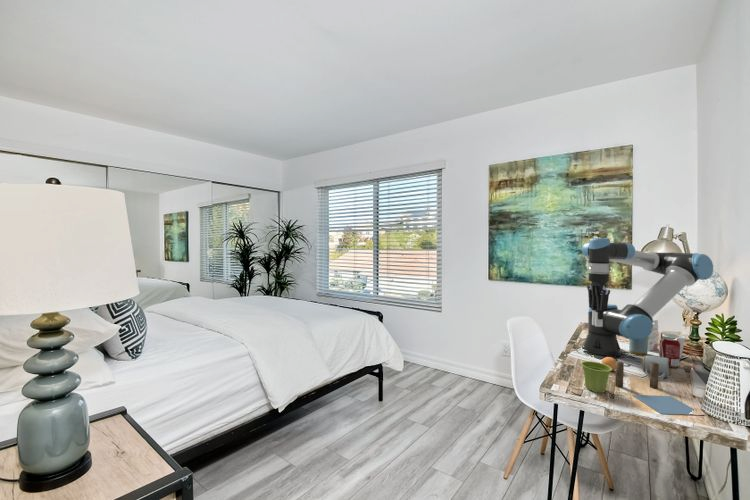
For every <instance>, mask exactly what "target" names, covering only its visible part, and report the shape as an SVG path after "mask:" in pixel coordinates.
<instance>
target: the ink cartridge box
mask: <svg viewBox="0 0 750 500" xmlns="http://www.w3.org/2000/svg"><path fill="white" fill-rule="evenodd" d="M651 330H652V332H651V334H650V335H649V336H648V352H649V351H654V350H658V345H659V344H658V343H659V322H658V319H656V320H654V319H653V329H651Z"/></svg>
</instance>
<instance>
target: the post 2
mask: <svg viewBox="0 0 750 500" xmlns="http://www.w3.org/2000/svg"><path fill="white" fill-rule="evenodd" d="M658 373H659V364H658V363H655V362H650V378H649V387H650V389H651V388H652V389H655V390H656V389H657V390H658V389H659V380H658Z"/></svg>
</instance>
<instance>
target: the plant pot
mask: <svg viewBox="0 0 750 500" xmlns="http://www.w3.org/2000/svg"><path fill="white" fill-rule="evenodd" d="M580 365H581V366H582V369H583V376H584V386H585V388H586V389H587V390H589V391H592V392H594V393H605V392H606V390H607V385H608V380H609V375H610V374H611V372H613V371H612V368H611V367H609V366H608V365H605V364H602V362H597V361H589V360H588V361H581V363H580Z"/></svg>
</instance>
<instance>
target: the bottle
mask: <svg viewBox="0 0 750 500" xmlns="http://www.w3.org/2000/svg"><path fill="white" fill-rule="evenodd" d="M628 344H629V350H628V351H629V352H630V353H631V354H633V355H638V356H647V355H648V352H649V351H648V337H647V338H645V339H643V340H632V339H629V343H628Z"/></svg>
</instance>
